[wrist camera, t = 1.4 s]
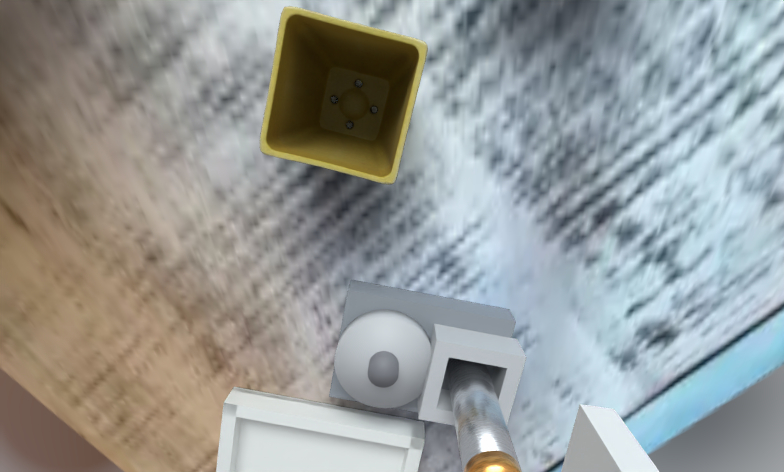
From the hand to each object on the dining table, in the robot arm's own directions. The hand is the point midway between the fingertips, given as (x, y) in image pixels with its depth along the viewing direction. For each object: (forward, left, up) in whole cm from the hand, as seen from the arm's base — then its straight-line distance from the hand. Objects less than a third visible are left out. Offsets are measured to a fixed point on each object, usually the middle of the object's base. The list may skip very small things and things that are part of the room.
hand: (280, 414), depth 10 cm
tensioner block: (+6, -12, -29) cm, 32 cm away
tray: (-1, -26, -29) cm, 39 cm away
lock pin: (+10, -12, -26) cm, 31 cm away
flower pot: (-3, +7, -29) cm, 30 cm away
